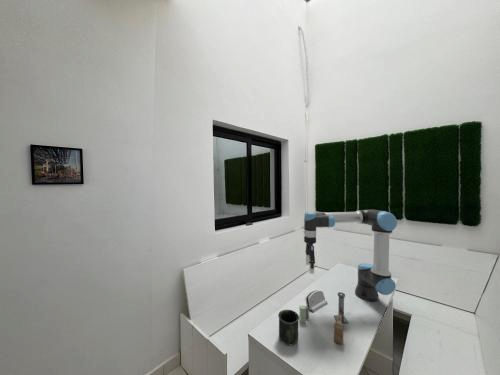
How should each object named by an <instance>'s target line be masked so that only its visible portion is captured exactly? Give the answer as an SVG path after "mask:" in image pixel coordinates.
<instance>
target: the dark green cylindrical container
mask: <svg viewBox="0 0 500 375" xmlns="http://www.w3.org/2000/svg"><path fill="white" fill-rule="evenodd" d="M277 317H278V338H279V340H280V341H281V343H283V344H284V345H287V346H293V345H295V344H296V343H297V342H298V340H299V321H300V319H299V317H300V314H298V313H297V312H296V311H295V310H292V309H283V310H280V311H279V312H278V315H277Z"/></svg>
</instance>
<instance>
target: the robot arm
mask: <svg viewBox="0 0 500 375" xmlns="http://www.w3.org/2000/svg"><path fill="white" fill-rule="evenodd" d="M303 222H304V226H303V227H304V229H303V231H302V232H303V233H304V234H303V242H304V243H305V265H307V266H309V274H312V275H313V274H315V264H316V257H315V246H314V244H316V243H317V228H334V227H335V226H336V224H337V223H338V224H341V223H342V224H345V223H357V224H360V225H361V224H364V225H367V226H371V231H372V232H373V264H371V263H359V264H358V266H357V284H356V286H355V288H354V294H355V296H356V297H358V298H359V299H361V300H363V301H366V302H377V301H379V294H380V295H382V296H389V295H391V294H393V293H394V291H395V289H396V282H395V281H394V280H393V279H392V272H390V270H389V267H390V235H391V234H393V231H394V230H395V228H397V226H398V221H397V218H396V216H395V215H394V214H393V213H391V212H390V211H389V212H388V211H385V210H379V209H378V210H377V209H361V210H360V209H359V210H356V211H345V212H344V211H342V212H341V211H335V212H316V211H314V212H312V211H311V212H305V213H304V219H303Z"/></svg>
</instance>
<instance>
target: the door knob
mask: <svg viewBox="0 0 500 375" xmlns="http://www.w3.org/2000/svg"><path fill="white" fill-rule="evenodd" d="M337 297H338V311H337V313H338V314H335V315H333V318H334V320H335V321H336V323H338V318H339V312H342V324H343V325H344V324H346V325H347V324H349V322H350V321H349V320H348V318H346V317H345V298H346V294H345V293H344V292H340V291H339V292H337Z"/></svg>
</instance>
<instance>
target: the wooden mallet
mask: <svg viewBox="0 0 500 375" xmlns="http://www.w3.org/2000/svg"><path fill="white" fill-rule="evenodd" d="M333 326H334V327H333V333H334V334H333V343H336V344H339V345H342V346H343V344H344V324H342V312H339V318H338V322H337V321H336V322H334V324H333Z"/></svg>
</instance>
